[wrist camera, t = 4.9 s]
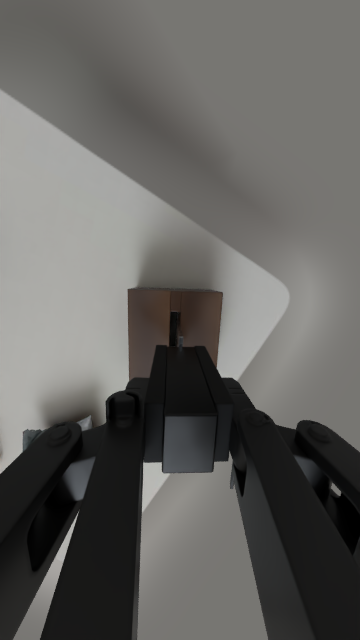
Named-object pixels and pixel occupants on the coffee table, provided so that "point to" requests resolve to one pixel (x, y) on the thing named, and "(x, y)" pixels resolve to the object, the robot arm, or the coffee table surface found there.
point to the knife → (187, 413)
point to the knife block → (154, 322)
